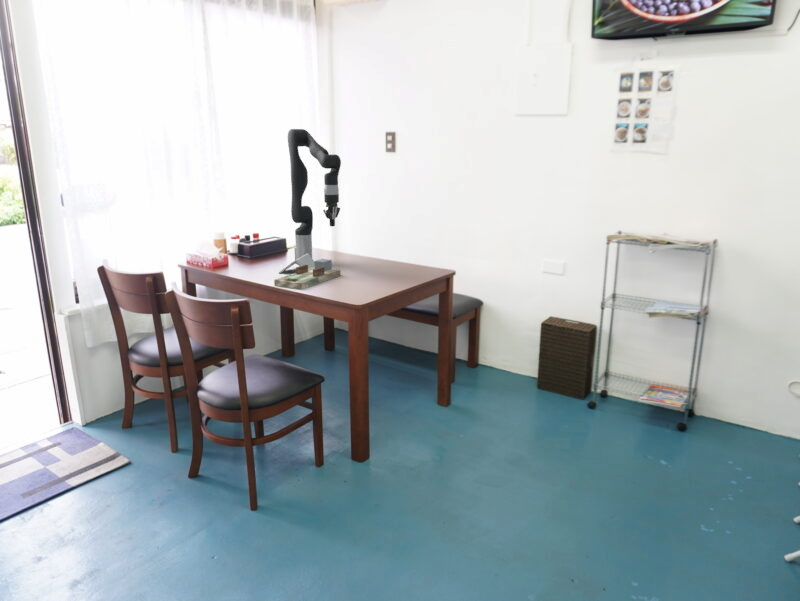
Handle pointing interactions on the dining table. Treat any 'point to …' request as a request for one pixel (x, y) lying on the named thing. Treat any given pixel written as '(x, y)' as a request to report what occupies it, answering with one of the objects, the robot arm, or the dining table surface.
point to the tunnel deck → (306, 277)
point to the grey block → (324, 264)
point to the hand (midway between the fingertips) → (332, 226)
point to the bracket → (302, 262)
